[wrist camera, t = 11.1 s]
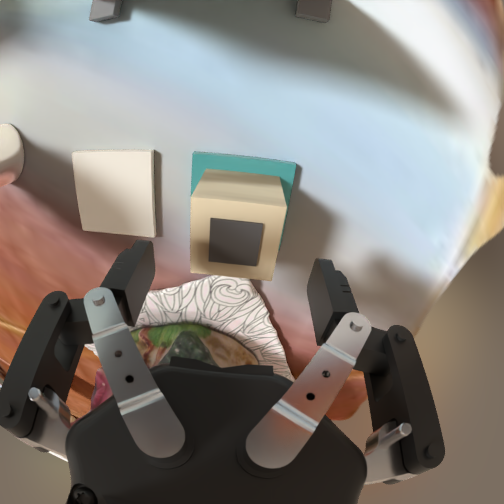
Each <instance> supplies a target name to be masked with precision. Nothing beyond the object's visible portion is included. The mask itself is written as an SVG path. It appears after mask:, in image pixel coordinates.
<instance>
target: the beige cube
mask: <svg viewBox="0 0 504 504" xmlns="http://www.w3.org/2000/svg"><path fill="white" fill-rule="evenodd" d="M286 209H287V206H286V202H285V197H284V193H283V189H282V185H281V181H280V177H279V176H271V175H264V174H255V173H247V172H237V171H228V170H217V169H206V170H205V172H204V173H203V175H202V177H201V179H200V181H199V183H198V185H197V186H196V188H195V190H194V192H193V194H192V196H191V221H190V263H191V273H199V274H208V275H217V276H226V277H236V278H246V279H256V280H266V281H272V277H273V272H274V268H275V263H276V258H277V253H278V249H279V244H280V239H281V234H282V229H283V224H284V219H285V214H286Z"/></svg>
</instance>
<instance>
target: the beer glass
mask: <svg viewBox="0 0 504 504" xmlns="http://www.w3.org/2000/svg"><path fill="white" fill-rule="evenodd" d="M23 165H24V148H23V143H22V140H21V137H20V135H19V133H18V131H17V130H16V129H15V128H14V127H13V126H12V125H10V124H1V125H0V187H2V186H5V185H7V184H10V183H12V182H14V181H15V180H16V179H17V178H18V177H19V176H20V174H21V172H22V169H23Z"/></svg>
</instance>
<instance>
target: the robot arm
mask: <svg viewBox="0 0 504 504" xmlns="http://www.w3.org/2000/svg"><path fill="white" fill-rule="evenodd" d="M154 275H155V260H154V251H153V243H152V241H144V240H136V242H135V243H134V245H133V247H132V248H131V249H126V250H124V251H123V252H122V253H120V254H119V255H118V257H117V259H116V260H115V263H114V264H113V265H112V267H111V268H110V270H109V272H108V274H107V275H106V277H105V279H104V280H103V282H102V284H101V286H100V287H99V288H95V289H92V290H90V291H89V292H88V293H87V294H86V295H85V297H84V298H82V299H71V300H69V299H68V297H67V295H66V293H64V292H62V291H54V292H52V293H50V294H48V295H47V296H46V297H45V298H44V299H43V301H42V303H41V304H40V306H39V308H38V310H37V311H36V313H35V315H34V317H33V319H32V321H31V323H30V325H29V326H28V328H27V330H26V332H25V334H24V336H23V338H22V340H21V343H20V345H19V347H18V349H17V351H16V353H15V356H14V358H13V360H12V362H11V365H10V367H9V369H8V372H7V374H6V377H5V379H4V382H3V385H2V387H1V390H0V425H1V426H2V427H3V428H5V429H6V430H7V431H9V432H10V433H11V434H12V435H13V436H15V437H17V438H18V439H19V440H21V441H23V442H24V443H26V444H27V445H29V446H32V447H34V448H35V449H37V450H39V451H41V452H49V451H51V452H53V453H56V454H58V455H61V456H64V457H66V458H67V460H68V463H69V468H70V474H71V490H70V494H69V496H68V499H67V502H66V504H357V503H358V499H359V495H360V493H361V490H362V488H363V486H364V485H367V484H372V483H377V482H383V483H385V484H395V483H397V482H400V481H403V480H406V479H408V478H411V477H414V476H416V475H418V474H421V473H423V472H426V471H428V470H430V469H432V468H435V467H437V466H438V465H439V464H440V463H441V462H442V460H443V458H444V455H445V447H444V442H443V437H442V432H441V428H440V424H439V419H438V415H437V411H436V408H435V404H434V400H433V397H432V393H431V390H430V386H429V383H428V380H427V376H426V373H425V370H424V367H423V364H422V361H421V358H420V355H419V352H418V349H417V347H416V344H415V341H414V338H413V336H412V334H411V333H410V331H409V330H408V329H406V328H405V327H403V326H400V325H393V326H391V327H390V328H389V329H388V331H384V330H380V329H377V328H374V327H371V323H370V322H369V320H368V319H367V318H366V317H365V316H363V315H361V314H359V311H358V308H357V306H356V303H355V300H354V297H353V294H352V293H351V289H350V287H349V284H348V281H347V278H346V277H345V276H344V275H343V274H342V272H341V271H337V270H335V268H334V265H333V262H332V260H327V259H316V260H315V262H314V265H313V268H312V272H311V275H310V278H309V281H308V285H307V295H308V300H309V305H310V310H311V315H312V321H313V326H314V331H315V337H316V342H317V346H321V348H320V349H319V350H318V352H317V353H316V354H315V356H314V357H313V358H312V360H311V361H310V362H309V364H308V365H307V366H306V368H305V369H304V370H303V372H302V373H301V374H300V376H299V377H298V378H297V379H296V381H295V382H292V381H291V380H289V379H288V378H286V377H284V376H281V375H279V374H276V373H274V371H273V366H269V365H252V364H247V365H240V366H232V367H225V368H221V367H217V366H214V365H211V364H208V363H205V362H203V361H200V360H197V359H191V358H183V357H176V356H171V360H170V363H164V364H159V365H156V366H153V367H151V368H149V369H148V368H147V366H146V364H145V362H144V360H143V358H142V356H141V354H140V352H139V350H138V348H137V346H136V344H135V341H134V339H133V337H132V335H131V333H130V331H129V328H128V326H130V327H135V325H136V322H137V320H138V317H139V314H140V312H141V309H142V306H143V304H144V301H145V299H146V296H147V294H148V291H149V289H150V286H151V284H152V281H153V279H154ZM85 344H95V347H96V350H97V353H98V356H99V359H100V362H101V365H102V367H103V370H104V373H105V375H106V378H107V380H108V383H109V385H110V388H111V390H112V393H113V395H112V396H111V397H109V398H108V399H107V400H105V401H104V402H102V403H101V404H100V405H98V406H97V407H96V408H94V409H93V410H92V411H90V412H89V413H87V414H86V415H85V416H83V417H82V418H80V419H79V420H78V421H76V422H75V423H74V424H73V425H72V426H71V424H70V418H71V413H70V410H69V408H68V406H67V405H66V400H67V396H68V393H69V390H70V386H71V383H72V380H73V377H74V374H75V371H76V368H77V365H78V362H79V359H80V356H81V353H82V350H83V348H84V345H85ZM352 369H355V370H359V371H363V373H364V378H365V384H366V389H367V395H368V400H369V407H370V413H371V419H372V427H373V433H372V434H371V435H370V436H369V437H368V439H367V441H366V450H365V453H364V454H363V453H362V451H361V450H360V449H359V448H358V447H357V446H356V445H355V444H354V443H353V442H352V441H351V440H350V439H349V438H348V437H347V436H346V435H345V434H344V433H343V432H342V431H341V430H340V429H339V428H338V427H337V426H336V425H335V424H334V423H333V422H332V421H331V420H330V419H329V418H328V417H327V416H326V415H325V413H326V412H327V410H328V409H329V407H330V406H331V404H332V402H333V401H334V399H335V398H336V396H337V394H338V393H339V391H340V389H341V388H342V386H343V384H344V383H345V381H346V379H347V378H348V376H349V374H350V372H351V371H352Z"/></svg>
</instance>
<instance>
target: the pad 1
mask: <svg viewBox="0 0 504 504" xmlns="http://www.w3.org/2000/svg"><path fill="white" fill-rule="evenodd" d="M72 161H73V171H74V180H75V187H76V194H77V201H78V207H79V213H80V218H81V223H82V228H83V230H84V231H94V232H104V233H114V234H124V235H134V236H144V237H155V236H156V234H157V233H156V217H155V195H154V150H135V149H123V150H85V151H75V152H73V153H72Z"/></svg>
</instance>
